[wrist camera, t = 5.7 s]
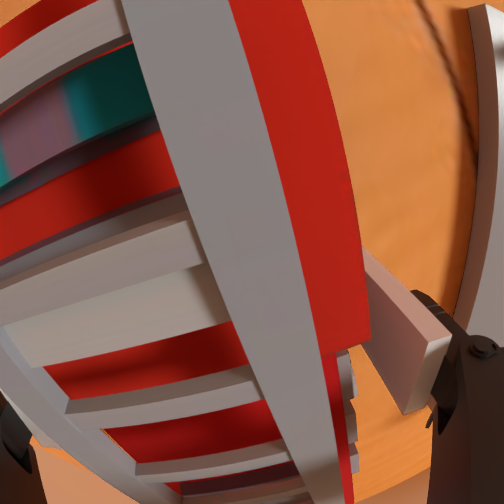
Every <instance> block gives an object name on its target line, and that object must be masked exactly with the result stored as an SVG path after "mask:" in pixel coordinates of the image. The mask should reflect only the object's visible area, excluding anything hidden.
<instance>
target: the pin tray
mask: <svg viewBox="0 0 504 504" xmlns="http://www.w3.org/2000/svg"><path fill="white" fill-rule="evenodd" d="M467 10H468V15H469V21H470V26H471V32H472V39H473V46H474V53H475V62H476V72H477V84H478V101H479V159H478V176H477V189H476V199H475V208H474V217H473V224H472V231H471V237H470V244H469V249H468V255H467V260H466V265H465V270H464V275H463V280H462V284H461V288H460V293H459V297H458V301H457V305H456V308H455V312H454V316H453V320H454V321H455V322H456V323H457V324H458V325H459V326H460V327H461V328H462V329H463V330H464V331H465V332H466V333H467V334H468V335H469V336H470V335H481V336H486V337H488V338H490V339H492V340H493V341H494V342H496V343H497V344H498V345H499V347H504V13H503V12H501V11H499V10H497V9H495V8H493V7H491V6H489V5H487V4H482V5H478V6H474V7H470V8H467ZM435 404H436V401H435V399H434V398H433V396H432V395H431V394H430V397H429V399H428V401H427V405H428V406H429V408H430V409H431V411H433V409H434V407H435Z"/></svg>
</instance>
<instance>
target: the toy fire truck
mask: <svg viewBox="0 0 504 504" xmlns="http://www.w3.org/2000/svg"><path fill="white" fill-rule="evenodd" d="M369 340H371V327H370V315H369V304H368V294H367V285H366V276H365V268H364V260H363V252H362V245H361V238H360V231H359V225H358V219H357V213H356V207H355V201H354V195H353V190H352V184H351V179H350V174H349V169H348V164H347V159H346V155H345V150H344V145H343V141H342V137H341V132H340V128H339V124H338V120H337V116H336V112H335V108H334V104H333V100H332V96H331V92H330V89H329V85H328V81H327V78H326V74H325V71H324V67H323V64H322V61H321V57H320V54H319V51H318V48H317V44H316V41H315V38H314V35H313V32H312V29H311V26H310V23H309V20H308V17H307V14H306V11H305V9H304V6H303V3H302V0H41V1H39V2H38V3H36V4H35V5H33V6H31V7H30V8H28V9H27V10H25V11H24V12H22V13H21V14H19V15H18V16H16V17H15V18H13V19H12V20H11V21H9V22H8V23H6V24H5V25H4V26H2V27H1V28H0V388H1V389H2V391H3V392H4V393H5V394H6V395H7V396H8V397H9V398H10V399H11V400H12V401H13V402H14V404H15V405H16V406H17V407H18V408H19V409H20V410H21V411H22V412H23V413H24V414H25V415H26V416H27V417H28V418H29V419H30V420H31V421H32V422H33V423H34V424H36V425H37V426H38V427H39V428H40V429H41V430H42V431H43V432H44V433H45V434H46V435H47V436H49V437H50V438H51V439H52V440H53V441H54V442H55V443H57V444H58V445H59V446H60V447H61V448H62V449H64V450H65V451H66V452H67V453H68V454H70V455H71V456H72V457H73V458H75V459H76V460H77V461H79V462H80V463H81V464H82V465H84V466H85V467H86V468H88V469H89V470H90V471H92V472H93V473H94V474H96V475H97V476H99V477H100V478H102V479H103V480H104V481H106V482H107V483H109V484H110V485H112V486H113V487H115V488H116V489H118V490H119V491H121V492H122V493H124V494H125V495H127V496H129V497H130V498H132V499H133V500H135V501H137V502H138V503H140V504H354V494H353V482H352V474H354V473H357V472H359V455H358V450H357V448H356V446H355V443H354V442H356V441H358V439H357V425H356V413H355V410H354V408H353V406H352V404H351V402H350V399H353V398H354V397H356V396H358V390H357V385H356V380H355V375H354V372H353V369H352V366H351V361H350V355H349V352H348V350H347V349H348V348H351V347H353V346H356V345H359V344H361V343H364V342H366V341H369ZM100 429H104V430H105V431H106V432H107V433H108V434H109V435H110V436H111V437H112V438H113V439H114V440H115V441H116V442H117V443H118V444H119V445H120V446H121V447H122V448H123V449H124V450H125V451H126V452H127V453H128V454H129V455H130V456H131V457H132V458H133V459H132V458H131V457H130V456H129V455H128V454H127V453H125V452H124V451H123V450H122V449H121V448H120V447H119V446H117V445H116V444H115V443H114V442H113V441H112V440H111V439H110V438H109V437H108V436H106V435H105V434H104V433H103V432H102V431H101V430H100ZM137 462H138V463H137Z"/></svg>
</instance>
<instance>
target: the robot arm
mask: <svg viewBox="0 0 504 504" xmlns="http://www.w3.org/2000/svg"><path fill="white" fill-rule="evenodd" d="M362 252H363V260H364V268H365V276H366V285H367V294H368V304H369V315H370V327H371V340H369V341H366V342H364V343H361V345H362V346H363V348H364V350H365V351H366V353H367V355H368V356H369V358H370V360H371V361H372V363H373V365H374V366H375V368H376V370H377V371H378V373H379V375H380V376H381V378H382V380H383V381H384V383H385V385H386V386H387V388H388V390H389V392H390V393H391V395H392V397H393V398H394V400H395V402H396V404H397V405H398V407H399V409H400V411H401V412H402V414H403V415H405V414H408V413H411V412H414V411H417V410H419V409H422V408H425V406H426V404H427V401H428V399H429V397H430V394H431V395H432V396H433V398H434V399H435V401H436V404H435V407H434V409H433V411H432V413H431V415H430V417H429V419H428V421H427V424H426V427H425V428H429V427H430V425H431V423H432V421H433V435H432V456H431V471H430V480H429V490H428V498H427V504H504V347H499V345H498V344H497V343H496V342H494V341H493V340H492V339H490V338H488V337H486V336H481V335H470V336H469V335H468V334H467V333H466V332H465V331H464V330H463V329H462V328H461V327H460V326H459V325H458V324H457V323H456V322H455V321H454V320H453V319H452V318H451V317H450V316H449V315H448V314H447V313H445V311H444V310H443V309H442V308H441V307H440V306H438V304H437V303H436V302H435V301H434V300H433V299H432V298H431V297H430V296H428V295H426V294H424V293H422V292H420V291H418V290H412V291H409V290H408V289H407V288H406V287H405V286H404V285H403V284H402V283H401V282H400V281H399V280H398V279H397V278H396V277H395V276H394V275H393V274H392V273H390V272H389V271H388V270H387V269H386V268H385V267H384V266H383V265H382V264H381V263H380V262H379V261H378V260H377V259H376V258H375V257H374V256H372V255H371V254H370V253H369V252H368V251H367V250H366V249H365V248H364V247H363V246H362ZM32 435H33V436H34V437H35V439H36V440H37V441H38V442H39V444H40V445H41V446H43V447H49V448H56V449H62V448H61V447H60V446H59V445H58V444H57V443H55V442H54V441H53V440H52V439H51V438H50V437H49V436H47V435H46V434H45V433H44V432H43V431H42V430H41V429H40V428H39V427H38V426H37V425H36V424H34V423H33V422H32V421H31V420H30V419H29V418H28V417H27V416H26V415H25V414H24V413H23V412H22V411H21V410H20V409H19V408H18V407H17V406H16V405H15V404H14V402H13V401H12V400H11V399H10V398H9V397H8V396H7V395H6V394H5V393H4V392H3V391H2V389H1V388H0V504H47V500H46V497H45V493H44V489H43V485H42V481H41V477H40V473H39V469H38V464H37V459H36V454H35V451H34V449H33V447H32V446H31V445H30V443H29V442H30V439H31V437H32Z"/></svg>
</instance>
